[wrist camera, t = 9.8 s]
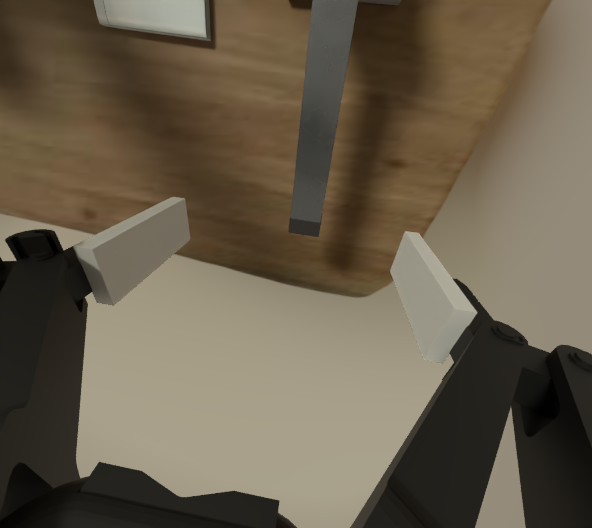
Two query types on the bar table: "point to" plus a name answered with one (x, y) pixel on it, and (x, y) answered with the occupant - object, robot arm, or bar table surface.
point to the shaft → (320, 109)
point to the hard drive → (157, 16)
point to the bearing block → (382, 2)
